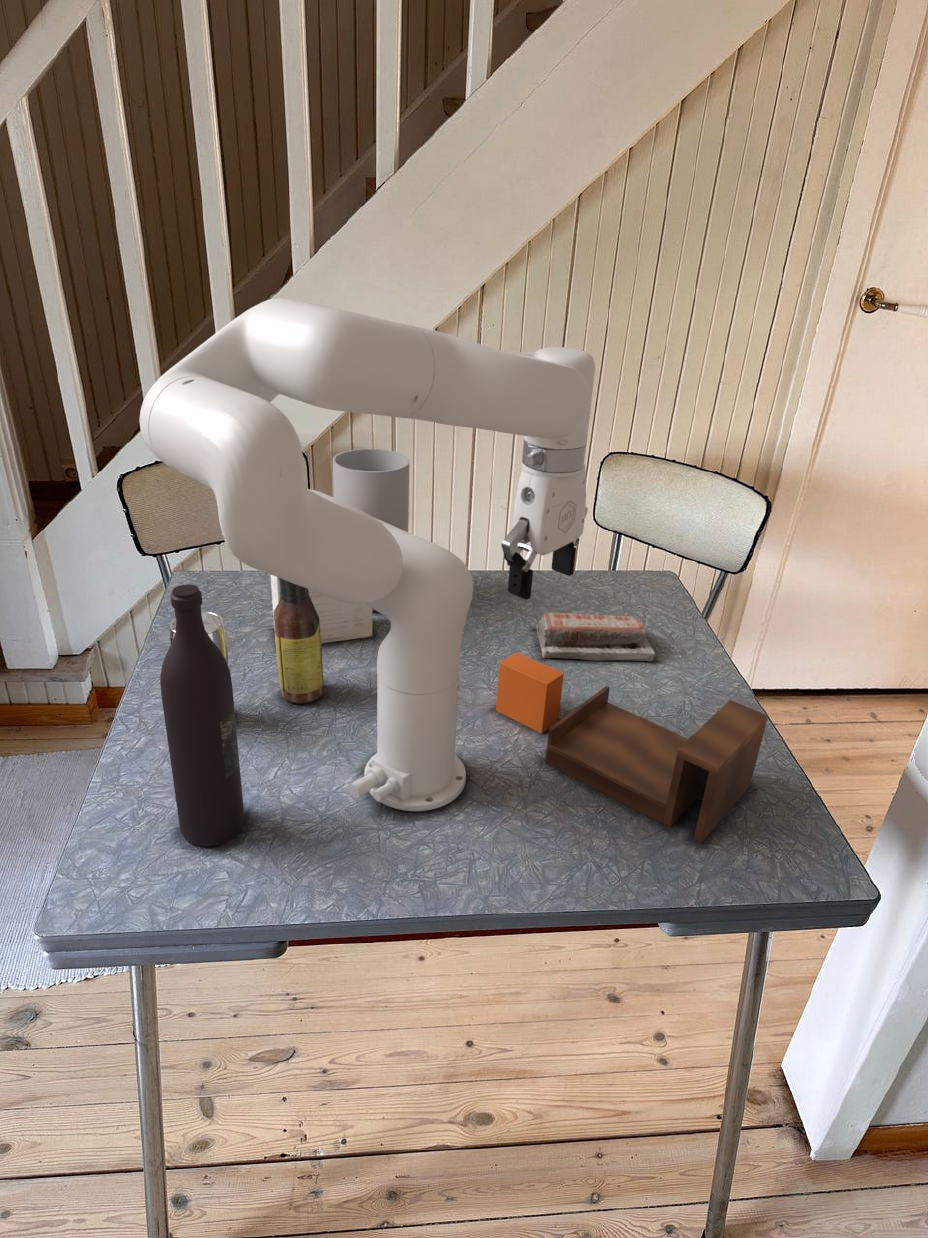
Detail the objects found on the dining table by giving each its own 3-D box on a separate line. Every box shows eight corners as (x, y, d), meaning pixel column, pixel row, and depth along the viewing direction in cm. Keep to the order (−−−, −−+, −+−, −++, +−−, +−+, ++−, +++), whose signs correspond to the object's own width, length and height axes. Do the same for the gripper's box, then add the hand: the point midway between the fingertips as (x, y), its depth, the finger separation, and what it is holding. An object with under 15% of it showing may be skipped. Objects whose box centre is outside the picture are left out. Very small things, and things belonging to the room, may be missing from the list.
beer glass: (217, 699, 118) (207, 604, 111) (244, 721, 114) (235, 624, 107) (171, 718, 114) (157, 620, 107) (197, 741, 109) (185, 641, 102)
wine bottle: (240, 847, 93) (217, 606, 79) (174, 849, 92) (139, 606, 78) (248, 805, 99) (227, 574, 85) (186, 807, 98) (155, 574, 84)
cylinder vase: (332, 583, 153) (329, 449, 141) (400, 579, 156) (402, 447, 144) (339, 615, 142) (336, 473, 130) (412, 610, 145) (415, 471, 133)
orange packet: (541, 734, 115) (547, 684, 111) (495, 710, 119) (499, 662, 115) (558, 721, 118) (564, 673, 114) (512, 699, 122) (516, 652, 118)
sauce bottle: (332, 694, 121) (329, 568, 111) (297, 711, 117) (290, 582, 107) (304, 676, 125) (298, 553, 115) (269, 692, 120) (260, 566, 111)
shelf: (700, 844, 97) (719, 768, 92) (544, 762, 109) (553, 691, 104) (749, 787, 107) (768, 715, 102) (601, 718, 119) (611, 651, 114)
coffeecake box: (362, 617, 142) (361, 508, 133) (373, 637, 136) (373, 525, 127) (272, 629, 137) (265, 516, 128) (280, 650, 131) (273, 534, 122)
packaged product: (544, 633, 130) (537, 604, 139) (541, 660, 132) (535, 629, 141) (659, 636, 131) (645, 607, 140) (654, 663, 133) (640, 632, 142)
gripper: (537, 479, 93) (525, 615, 101) (617, 448, 105) (600, 572, 113) (484, 463, 97) (477, 596, 105) (567, 435, 109) (554, 556, 117)
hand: (541, 583), depth 109 cm, fingers open, 9 cm apart
